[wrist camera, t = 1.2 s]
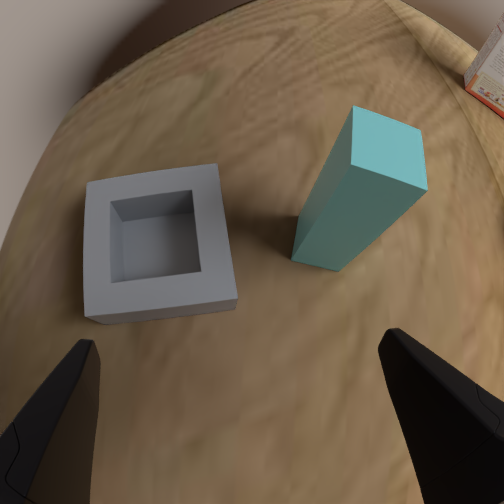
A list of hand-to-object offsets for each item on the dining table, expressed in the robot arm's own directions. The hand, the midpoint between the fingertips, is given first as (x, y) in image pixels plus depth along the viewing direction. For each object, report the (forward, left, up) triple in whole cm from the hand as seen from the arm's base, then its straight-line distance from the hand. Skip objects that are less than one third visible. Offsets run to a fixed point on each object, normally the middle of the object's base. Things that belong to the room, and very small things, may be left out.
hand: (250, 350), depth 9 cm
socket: (+8, -5, -14) cm, 17 cm away
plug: (-3, -11, -14) cm, 18 cm away
